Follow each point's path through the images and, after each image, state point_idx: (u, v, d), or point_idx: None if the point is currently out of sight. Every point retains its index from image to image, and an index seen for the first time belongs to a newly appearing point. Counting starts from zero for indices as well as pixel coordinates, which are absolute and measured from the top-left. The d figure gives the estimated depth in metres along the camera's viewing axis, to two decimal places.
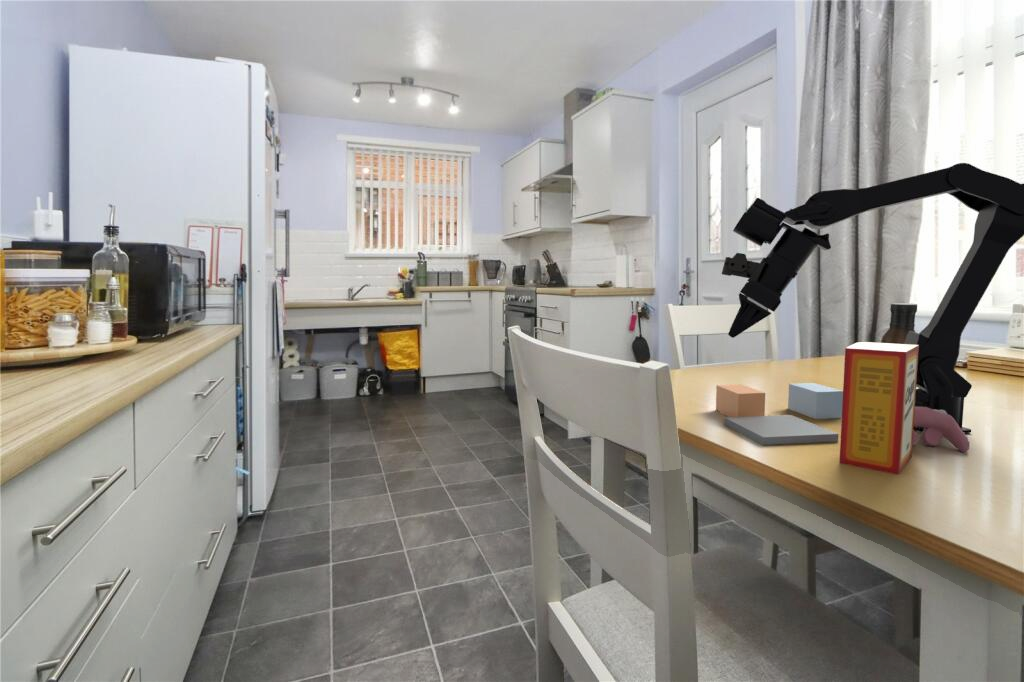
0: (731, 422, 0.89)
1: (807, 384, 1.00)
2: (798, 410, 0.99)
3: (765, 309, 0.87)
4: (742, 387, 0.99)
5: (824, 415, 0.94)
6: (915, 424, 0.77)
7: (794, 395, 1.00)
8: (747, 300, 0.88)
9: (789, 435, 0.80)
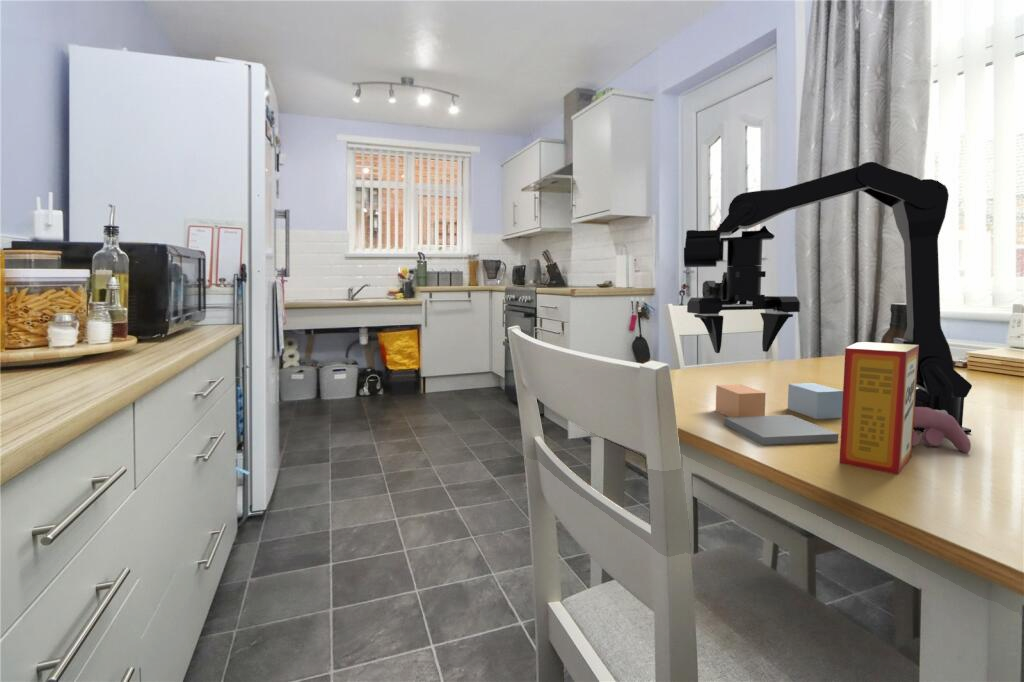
0: (731, 422, 0.89)
1: (807, 384, 1.00)
2: (798, 410, 0.99)
3: (705, 315, 0.93)
4: (742, 387, 0.99)
5: (825, 415, 0.94)
6: (916, 424, 0.77)
7: (794, 395, 1.00)
8: (696, 315, 0.96)
9: (789, 435, 0.80)
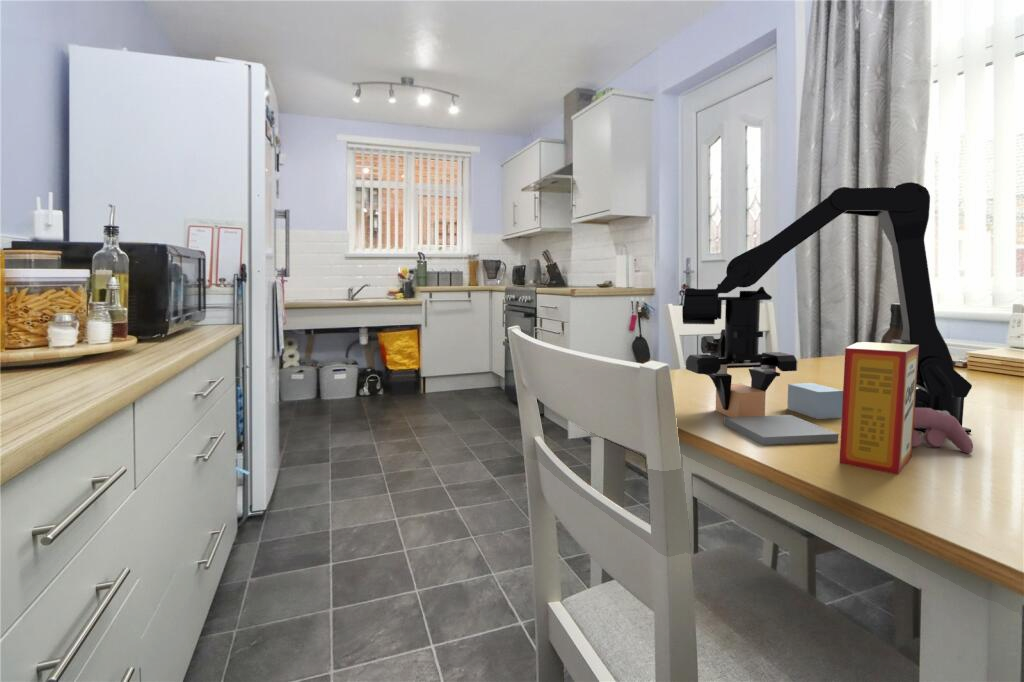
0: (731, 422, 0.89)
1: (806, 384, 1.00)
2: (798, 410, 0.99)
3: (713, 374, 0.95)
4: (742, 386, 0.99)
5: (825, 415, 0.94)
6: (918, 425, 0.77)
7: (794, 395, 1.00)
8: None
9: (789, 435, 0.80)
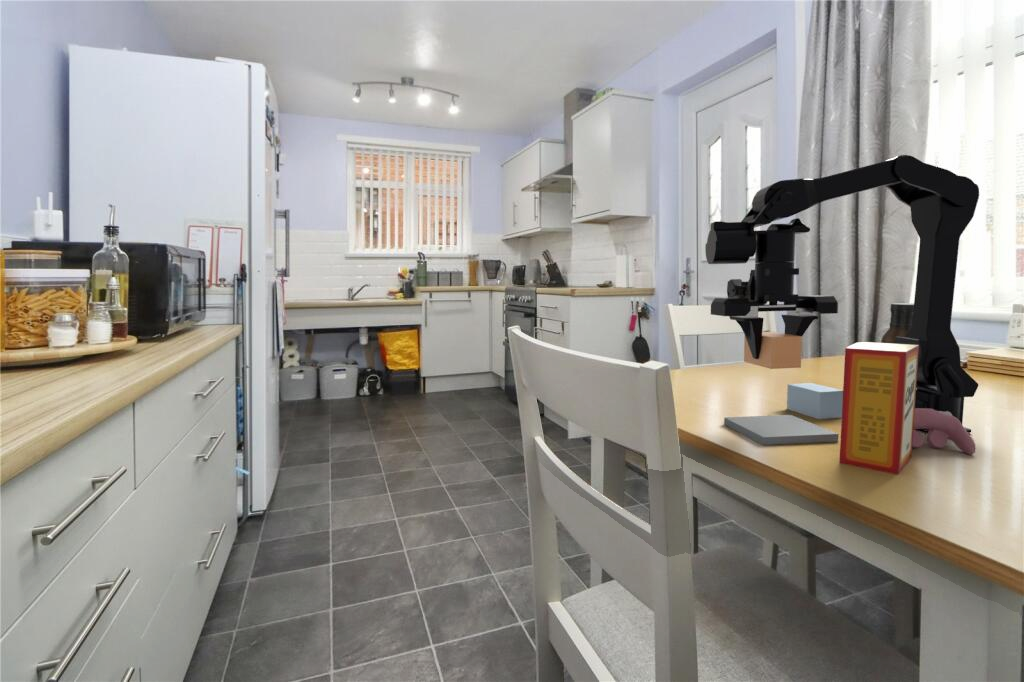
0: (731, 422, 0.89)
1: (805, 384, 1.00)
2: (799, 410, 0.98)
3: (742, 317, 0.84)
4: (774, 333, 0.88)
5: (827, 415, 0.94)
6: (920, 426, 0.76)
7: (794, 395, 0.99)
8: (732, 318, 0.87)
9: (789, 435, 0.80)
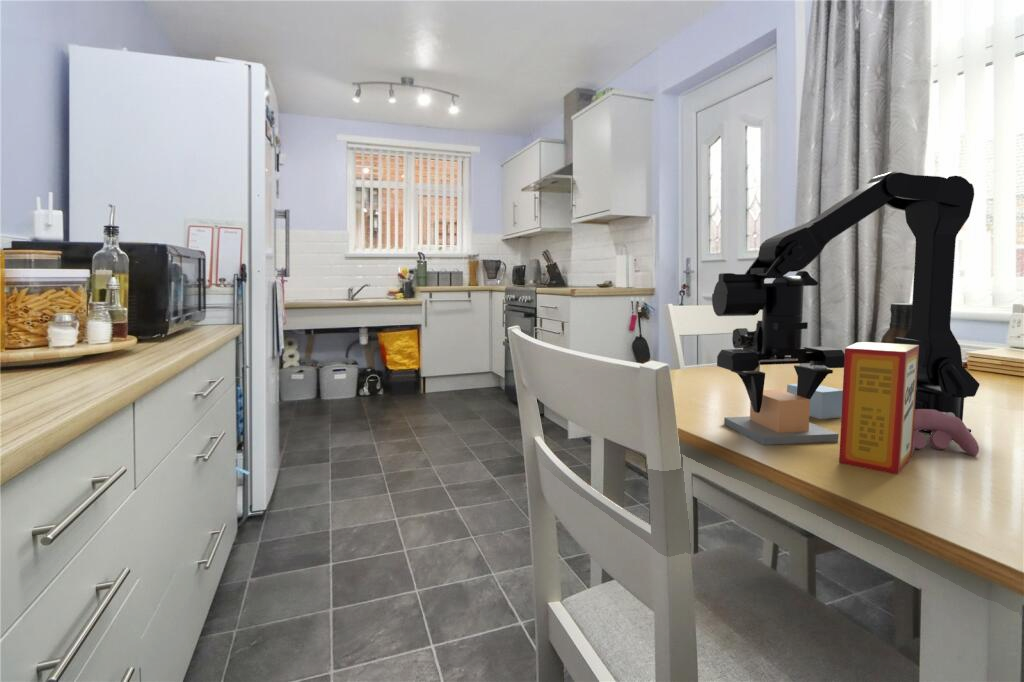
0: (731, 422, 0.89)
1: None
2: None
3: (744, 372, 0.82)
4: (781, 393, 0.87)
5: (828, 415, 0.94)
6: (923, 427, 0.76)
7: None
8: None
9: (789, 435, 0.80)
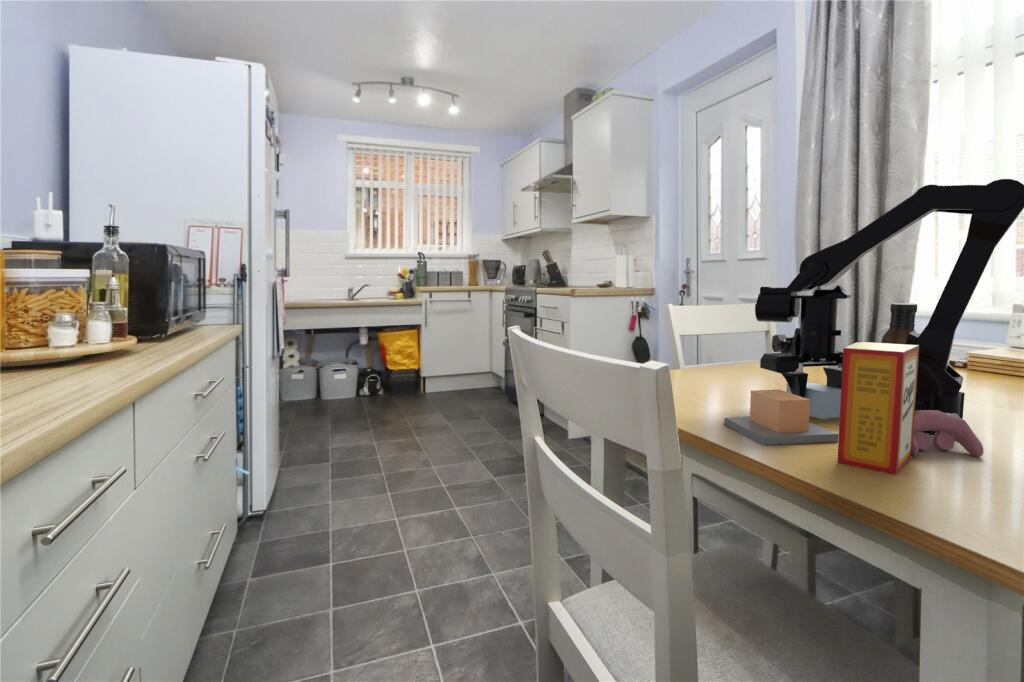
0: (731, 422, 0.89)
1: None
2: None
3: (789, 372, 0.95)
4: (781, 393, 0.87)
5: (829, 414, 0.94)
6: (927, 428, 0.75)
7: None
8: (778, 371, 0.98)
9: (789, 435, 0.80)
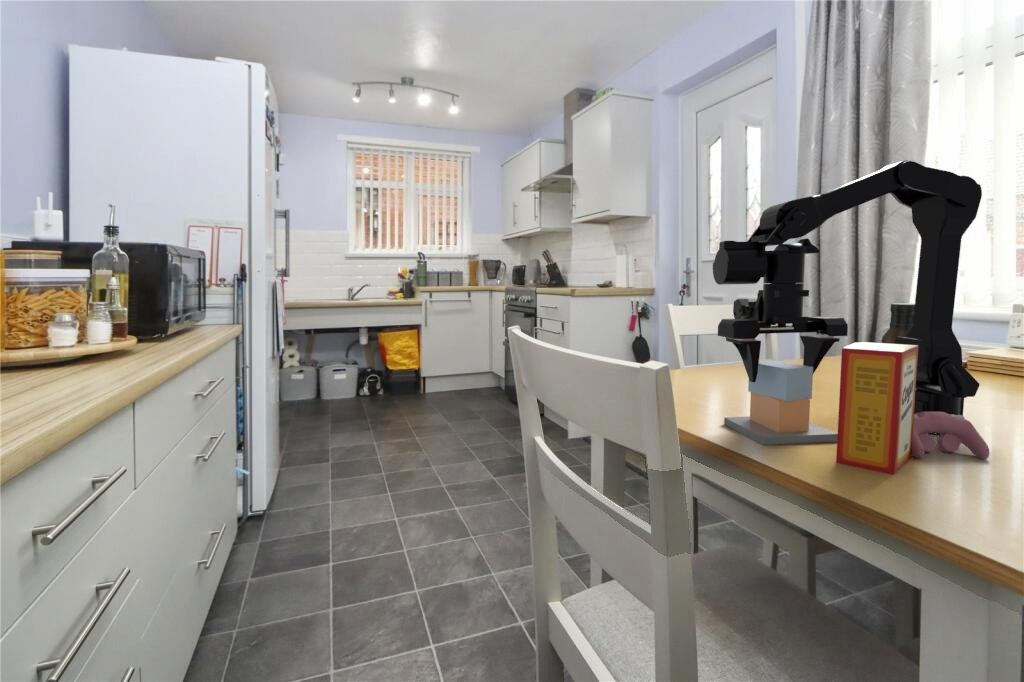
0: (731, 422, 0.89)
1: (769, 361, 0.87)
2: (762, 392, 0.85)
3: (739, 340, 0.82)
4: None
5: (794, 395, 0.81)
6: (932, 430, 0.74)
7: None
8: (728, 340, 0.85)
9: (789, 435, 0.80)
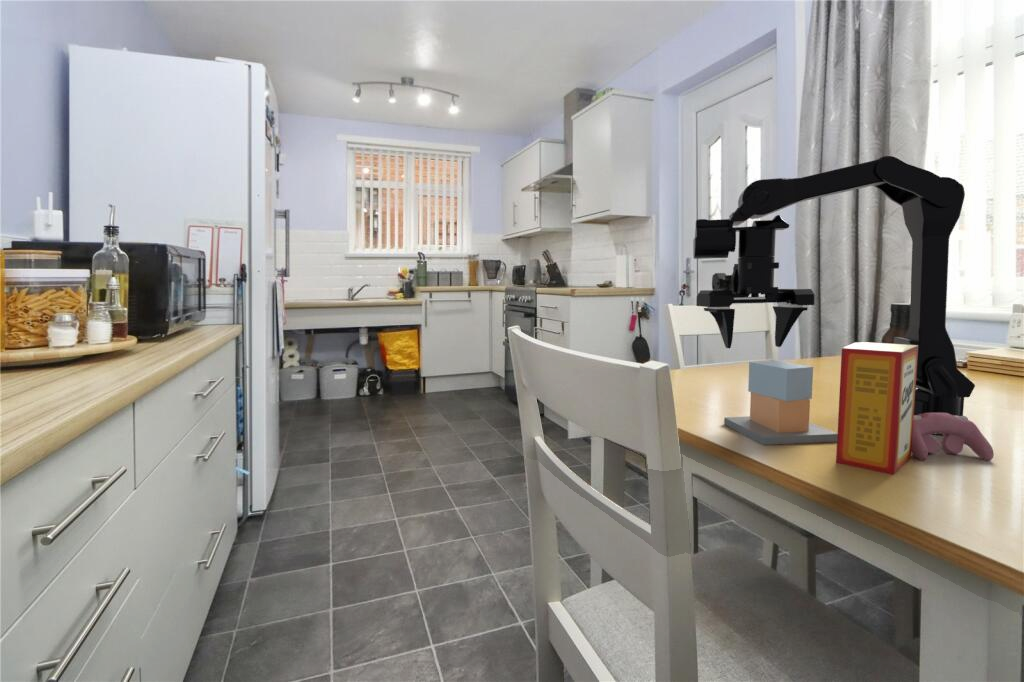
0: (731, 422, 0.89)
1: (769, 361, 0.87)
2: (762, 392, 0.85)
3: (715, 308, 0.89)
4: None
5: (794, 395, 0.81)
6: (935, 431, 0.74)
7: (756, 374, 0.86)
8: (706, 309, 0.92)
9: (789, 435, 0.80)
